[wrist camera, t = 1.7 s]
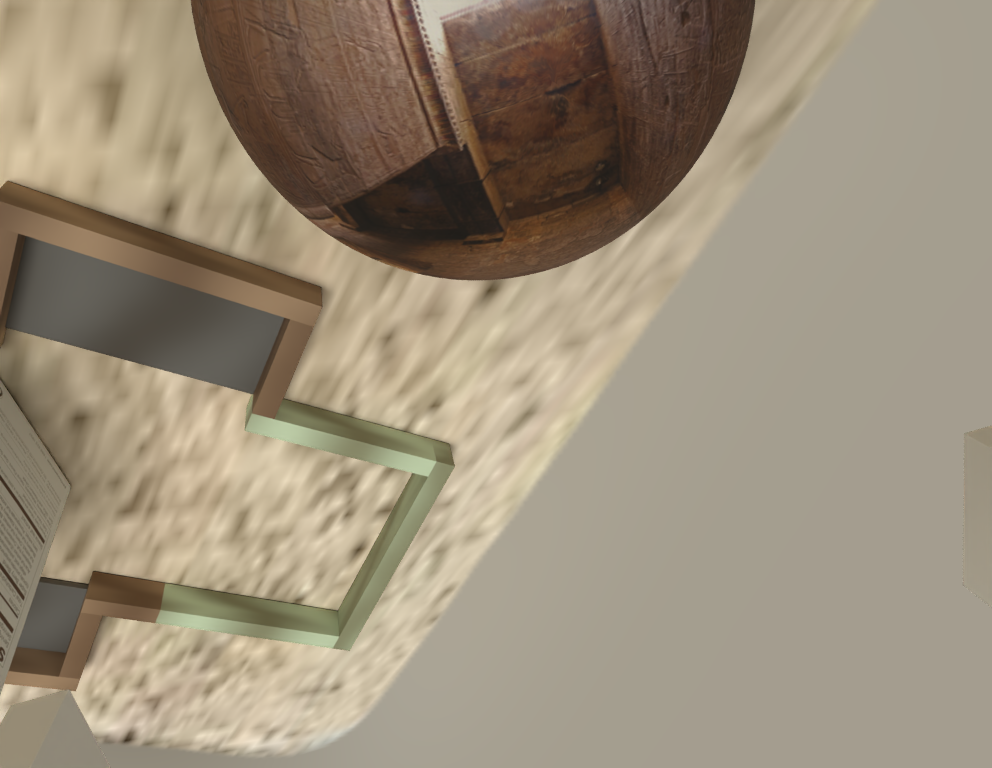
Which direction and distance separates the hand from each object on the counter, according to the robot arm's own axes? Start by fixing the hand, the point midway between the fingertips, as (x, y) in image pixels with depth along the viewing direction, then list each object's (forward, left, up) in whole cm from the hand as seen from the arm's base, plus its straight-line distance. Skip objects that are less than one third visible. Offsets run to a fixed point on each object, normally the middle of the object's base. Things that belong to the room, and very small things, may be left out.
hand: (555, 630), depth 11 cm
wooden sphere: (-1, +6, -24) cm, 25 cm away
